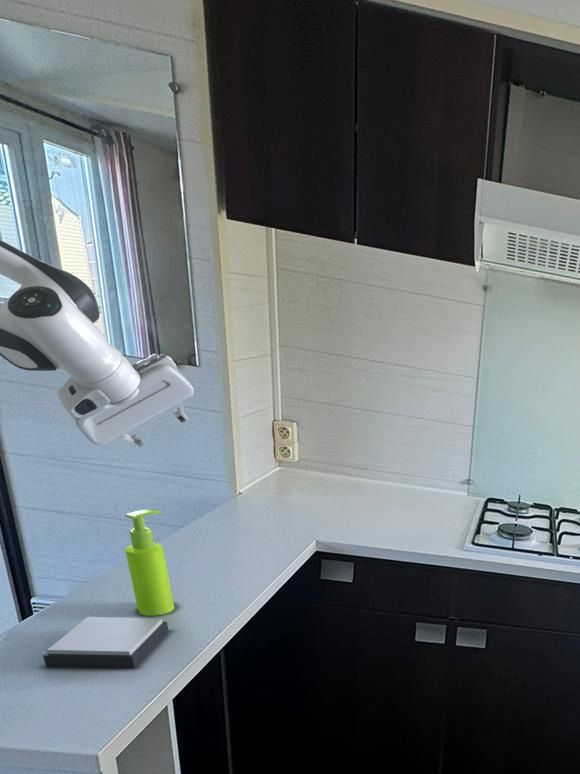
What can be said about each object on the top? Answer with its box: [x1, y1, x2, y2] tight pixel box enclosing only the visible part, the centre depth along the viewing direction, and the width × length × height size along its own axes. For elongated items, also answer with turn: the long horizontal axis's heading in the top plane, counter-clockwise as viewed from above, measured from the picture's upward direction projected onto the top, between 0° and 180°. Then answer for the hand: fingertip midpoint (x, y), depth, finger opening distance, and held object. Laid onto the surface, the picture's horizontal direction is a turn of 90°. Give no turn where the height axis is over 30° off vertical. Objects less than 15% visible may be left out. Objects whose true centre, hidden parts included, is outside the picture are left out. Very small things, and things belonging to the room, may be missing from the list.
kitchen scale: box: [42, 616, 170, 669], centre depth 109 cm, size 13×13×3 cm
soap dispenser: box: [124, 508, 175, 617], centre depth 120 cm, size 6×7×20 cm
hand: (162, 432), depth 123 cm, fingers open, 8 cm apart
